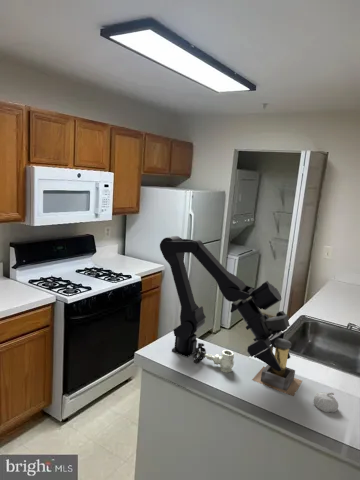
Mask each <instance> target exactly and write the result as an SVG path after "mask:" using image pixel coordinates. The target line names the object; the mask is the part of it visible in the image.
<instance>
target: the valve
mask: <svg viewBox="0 0 360 480" xmlns="http://www.w3.org/2000/svg"><path fill="white" fill-rule="evenodd" d="M195 351H196V352H194V353H193V354H192V355H193V356H192V358H193V364H200V363H201V362H202V361H203V360H204V359H207V360H209V361H212V362H213V364H214V365H216V366H218V365H219V368H220V371H221V372H223V373H226V374H228V373H231V372H233V368H234V363H235V361H234V357H235V354H234V351H232V350H229V349H223V350H222V351H221V355H220V354H218V353H217V354H215V355H213V354H211V353H207V351H206V348H205V343H203V342H197V347H196V348H195Z"/></svg>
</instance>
